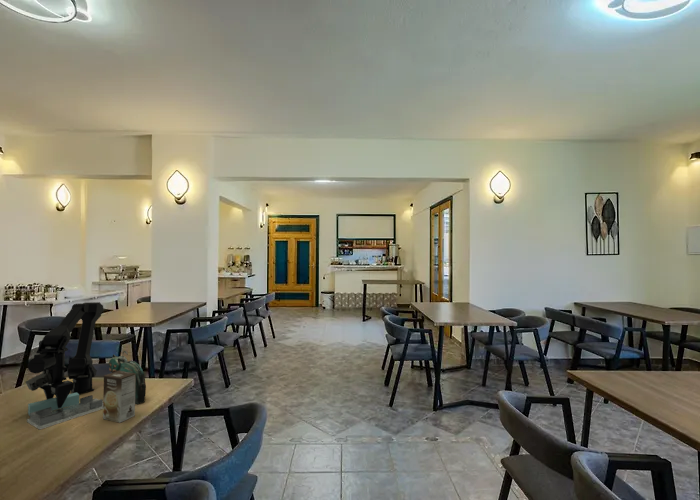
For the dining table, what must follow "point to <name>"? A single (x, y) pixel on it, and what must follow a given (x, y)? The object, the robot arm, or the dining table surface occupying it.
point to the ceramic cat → (132, 367)
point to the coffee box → (119, 396)
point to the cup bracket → (64, 413)
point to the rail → (53, 403)
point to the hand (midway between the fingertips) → (54, 405)
